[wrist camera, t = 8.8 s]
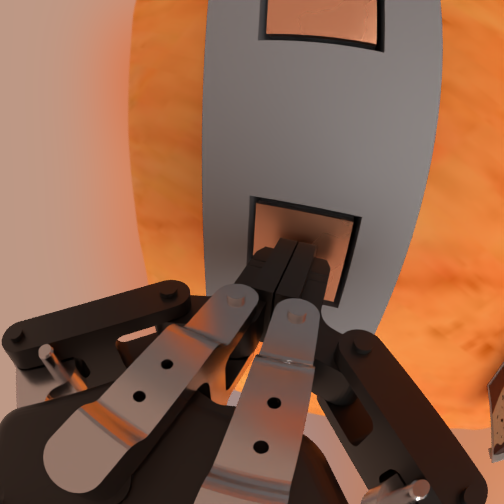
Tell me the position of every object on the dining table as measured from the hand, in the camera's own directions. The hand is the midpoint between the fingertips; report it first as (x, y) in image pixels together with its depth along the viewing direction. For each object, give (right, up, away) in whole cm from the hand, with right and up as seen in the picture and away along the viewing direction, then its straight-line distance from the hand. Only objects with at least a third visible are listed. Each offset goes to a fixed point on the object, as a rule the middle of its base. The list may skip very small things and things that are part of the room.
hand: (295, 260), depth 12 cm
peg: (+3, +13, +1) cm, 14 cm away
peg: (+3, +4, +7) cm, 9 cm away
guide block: (+3, +9, +4) cm, 10 cm away
